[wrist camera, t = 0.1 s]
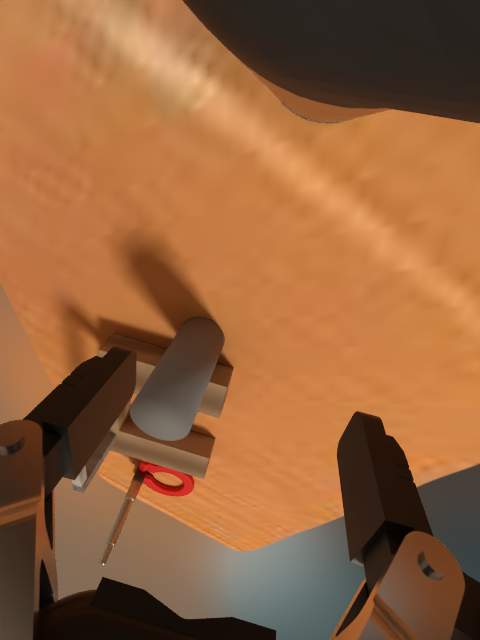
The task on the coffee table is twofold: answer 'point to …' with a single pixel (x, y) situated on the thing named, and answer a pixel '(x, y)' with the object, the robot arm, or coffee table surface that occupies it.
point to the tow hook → (133, 490)
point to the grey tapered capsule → (179, 381)
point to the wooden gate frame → (135, 443)
